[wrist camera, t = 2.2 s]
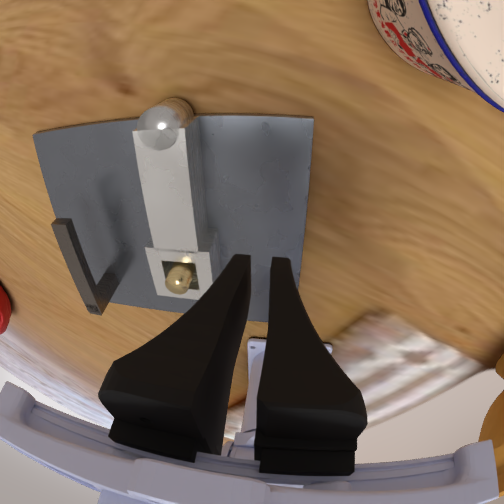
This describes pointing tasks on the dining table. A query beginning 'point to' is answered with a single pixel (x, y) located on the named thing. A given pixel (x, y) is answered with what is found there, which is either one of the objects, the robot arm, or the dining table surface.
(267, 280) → the base plate
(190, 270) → the peg
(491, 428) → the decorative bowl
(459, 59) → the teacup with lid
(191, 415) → the robot arm
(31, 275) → the dining table surface
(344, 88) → the dining table surface
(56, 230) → the bracket
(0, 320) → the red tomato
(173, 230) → the link
